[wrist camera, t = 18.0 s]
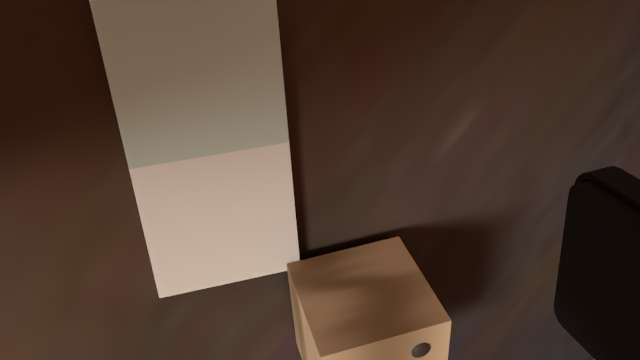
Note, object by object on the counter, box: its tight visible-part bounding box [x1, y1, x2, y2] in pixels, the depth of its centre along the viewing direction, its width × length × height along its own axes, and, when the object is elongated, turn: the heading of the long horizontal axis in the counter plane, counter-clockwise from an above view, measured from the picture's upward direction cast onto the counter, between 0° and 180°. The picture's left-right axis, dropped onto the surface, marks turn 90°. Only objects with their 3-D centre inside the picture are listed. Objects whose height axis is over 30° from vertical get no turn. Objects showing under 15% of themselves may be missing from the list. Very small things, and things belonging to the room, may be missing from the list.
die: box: [287, 236, 451, 360], centre depth 30 cm, size 6×6×6 cm
